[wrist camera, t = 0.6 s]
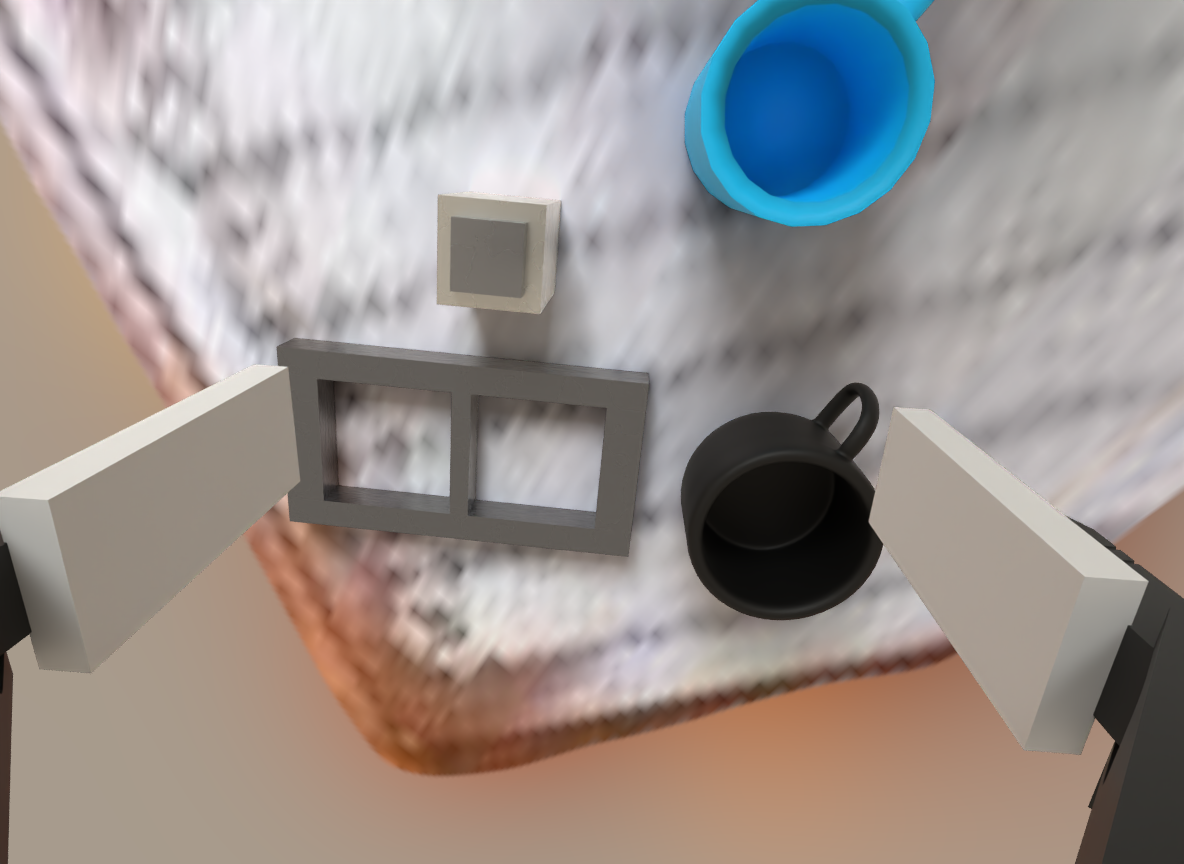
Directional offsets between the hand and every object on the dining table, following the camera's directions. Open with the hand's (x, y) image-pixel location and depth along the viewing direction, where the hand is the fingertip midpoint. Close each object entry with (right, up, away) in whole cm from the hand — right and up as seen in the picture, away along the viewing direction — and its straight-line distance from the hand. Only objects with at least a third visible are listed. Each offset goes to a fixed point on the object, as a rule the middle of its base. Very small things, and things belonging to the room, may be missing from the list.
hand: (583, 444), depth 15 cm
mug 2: (+10, -1, +23) cm, 25 cm away
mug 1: (+10, +16, +17) cm, 25 cm away
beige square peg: (-4, +10, +20) cm, 22 cm away
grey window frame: (-7, 0, +23) cm, 24 cm away
